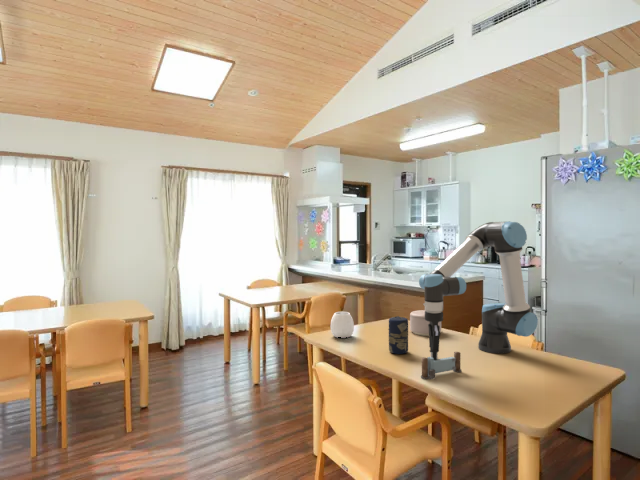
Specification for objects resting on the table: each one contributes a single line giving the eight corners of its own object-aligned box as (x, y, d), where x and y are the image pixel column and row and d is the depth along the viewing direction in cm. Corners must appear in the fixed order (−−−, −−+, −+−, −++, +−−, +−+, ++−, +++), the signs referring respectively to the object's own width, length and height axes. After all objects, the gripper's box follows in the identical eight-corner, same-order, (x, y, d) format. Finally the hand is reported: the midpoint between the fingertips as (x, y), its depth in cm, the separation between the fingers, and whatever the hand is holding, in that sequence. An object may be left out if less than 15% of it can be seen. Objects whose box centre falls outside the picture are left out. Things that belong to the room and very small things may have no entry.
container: (413, 336, 232) (413, 316, 231) (407, 328, 250) (407, 309, 249) (445, 336, 231) (445, 315, 231) (437, 328, 249) (437, 309, 249)
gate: (452, 370, 175) (452, 353, 175) (455, 372, 173) (455, 354, 173) (427, 375, 170) (427, 357, 169) (430, 376, 168) (430, 358, 167)
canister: (393, 356, 196) (393, 318, 196) (385, 350, 205) (385, 315, 205) (411, 354, 199) (411, 317, 198) (402, 348, 208) (402, 313, 207)
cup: (327, 334, 237) (327, 311, 237) (348, 332, 241) (348, 310, 241) (335, 340, 224) (335, 316, 224) (357, 338, 228) (357, 314, 228)
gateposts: (457, 369, 177) (457, 350, 177) (464, 372, 173) (464, 353, 173) (419, 377, 168) (418, 357, 168) (425, 380, 164) (425, 360, 164)
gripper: (422, 308, 178) (422, 361, 179) (427, 314, 165) (427, 371, 166) (439, 308, 177) (439, 361, 178) (446, 314, 165) (446, 372, 166)
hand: (434, 366), depth 172 cm, fingers closed
